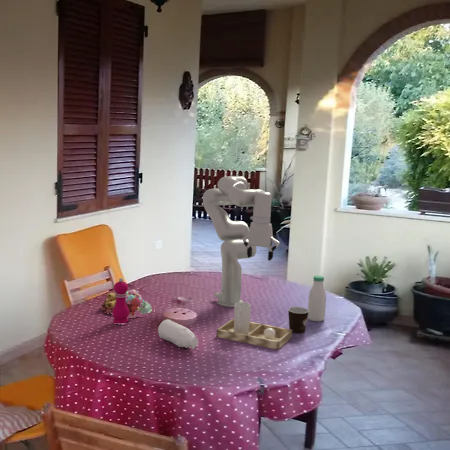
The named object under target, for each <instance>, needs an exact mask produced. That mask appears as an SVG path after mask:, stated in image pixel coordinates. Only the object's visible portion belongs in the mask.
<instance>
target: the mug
mask: <svg viewBox="0 0 450 450" xmlns="http://www.w3.org/2000/svg"><path fill="white" fill-rule="evenodd" d="M251 306H252V305H251V303H249V302H245V301H243V302H238V303H235V306H234V307H233V309H234V312H233V313H234V314H233V318H234V332H236V333H240V334H248V333H249V324H250V322H251Z"/></svg>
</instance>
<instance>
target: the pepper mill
mask: <svg viewBox="0 0 450 450" xmlns="http://www.w3.org/2000/svg"><path fill="white" fill-rule="evenodd" d="M113 291H114V293H115V292H116V293H115V296H116V304H115V306H114V308H113V312H112V315H111V316H112V317H113V322H114V323H127V322H128V323H129V319H128V318H127V317H128V316H129V309H128V306H127V304H126V296H127V293H126V292H127V291H129V285H128V283H127V282H125V281H124V278H123V277H120V278H119V279H118V281H117V282H116V283H115V284H114V286H113ZM114 323H113V324H114Z"/></svg>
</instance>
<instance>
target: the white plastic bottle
mask: <svg viewBox="0 0 450 450" xmlns="http://www.w3.org/2000/svg"><path fill="white" fill-rule="evenodd" d="M157 333H158V337H159V338H160V339H162V338H163V340H165V341H166V342H167V341H168V342H170V343H172V344H174V345H176V346H177V347H179V348H180V347H185V349H188V348H191V349H192V350H194V349H195V348H196V347H198V344H199V339H198V338H197V337H196V334H195V333H194V332H193V331H191V330H190V329H189V328H188V327H186V326H184V325H181V324H179V323H177V322H174V321H173V320H171V319H164V320H162V322H160V324H159V326H158V328H157Z"/></svg>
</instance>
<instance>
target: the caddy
mask: <svg viewBox="0 0 450 450" xmlns="http://www.w3.org/2000/svg"><path fill="white" fill-rule="evenodd" d="M267 328H272V329H273V330H274V331H275V334H276V335H275V338H274V339H272V340H270V339H266V338H265V337H264V331H265V330H266V329H267ZM292 331H293V330H291V329H289V328H285V327H279V326H274V325H269V324H264V323H258V322H252V321H250V324H249V333H248V334H240V333H236V332H234V317H233V318H231V319H229V320H228V321H227V322H225V323H224V324H223V325H221V326H220V327H218V328H217V329H216V337H217V338H219V339H220V338H222V339H226V340H230V341H234V342H239V343H240V342H241V343H245V344H249V345H255V346H259V347H264V348H269V349H273V350H277V351H278V350H279V351H280V349H281V348H283V346H284V345H286V344H287V343H288V341H290V339H291V338H293V333H292Z"/></svg>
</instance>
